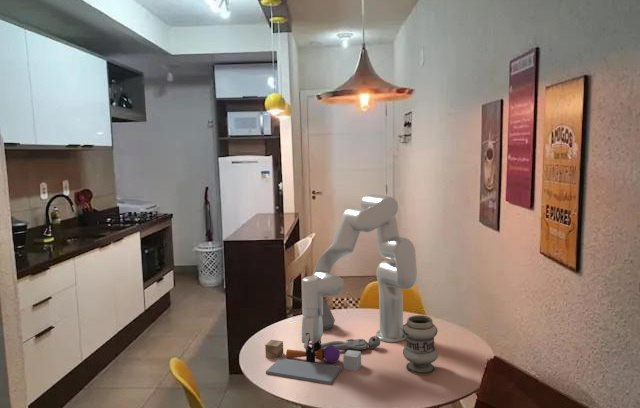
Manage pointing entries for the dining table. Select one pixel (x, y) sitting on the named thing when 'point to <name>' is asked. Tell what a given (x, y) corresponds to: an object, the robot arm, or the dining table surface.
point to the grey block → (352, 360)
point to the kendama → (317, 354)
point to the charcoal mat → (304, 370)
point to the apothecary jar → (420, 344)
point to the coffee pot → (327, 315)
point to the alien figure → (354, 344)
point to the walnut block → (274, 349)
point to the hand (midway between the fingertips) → (313, 357)
